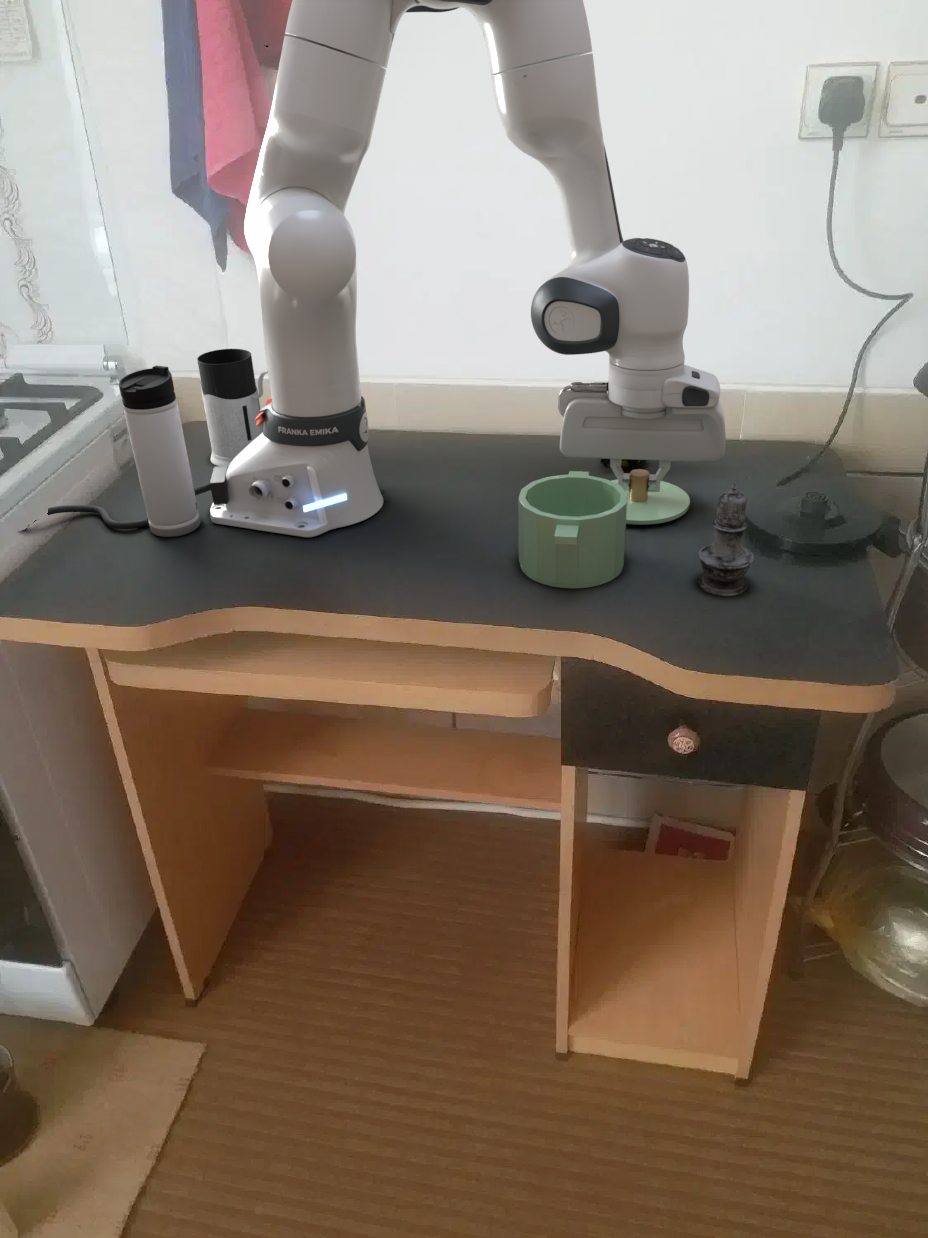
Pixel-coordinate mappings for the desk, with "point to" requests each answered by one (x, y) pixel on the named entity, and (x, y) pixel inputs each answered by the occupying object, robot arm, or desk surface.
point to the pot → (572, 530)
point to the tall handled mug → (230, 401)
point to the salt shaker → (727, 548)
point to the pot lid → (653, 501)
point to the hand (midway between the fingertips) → (638, 489)
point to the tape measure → (624, 462)
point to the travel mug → (160, 451)
